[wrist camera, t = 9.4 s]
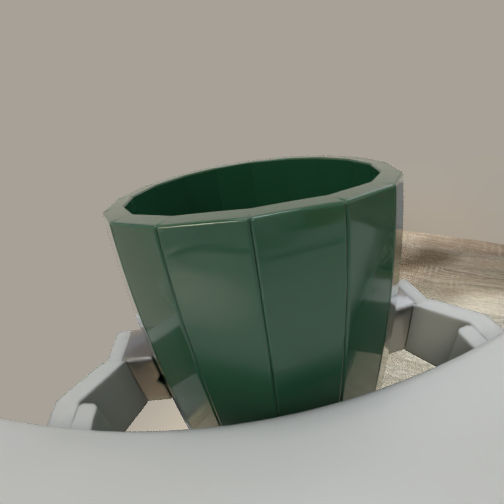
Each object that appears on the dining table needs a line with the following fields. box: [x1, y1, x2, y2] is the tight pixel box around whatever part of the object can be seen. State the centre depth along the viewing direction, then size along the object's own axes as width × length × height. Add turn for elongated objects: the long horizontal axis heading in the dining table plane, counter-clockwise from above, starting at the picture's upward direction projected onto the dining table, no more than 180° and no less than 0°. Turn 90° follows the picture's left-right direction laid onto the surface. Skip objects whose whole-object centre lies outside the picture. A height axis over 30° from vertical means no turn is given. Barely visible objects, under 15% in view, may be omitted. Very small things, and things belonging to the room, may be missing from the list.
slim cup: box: [103, 155, 403, 429], centre depth 9 cm, size 7×7×12 cm
